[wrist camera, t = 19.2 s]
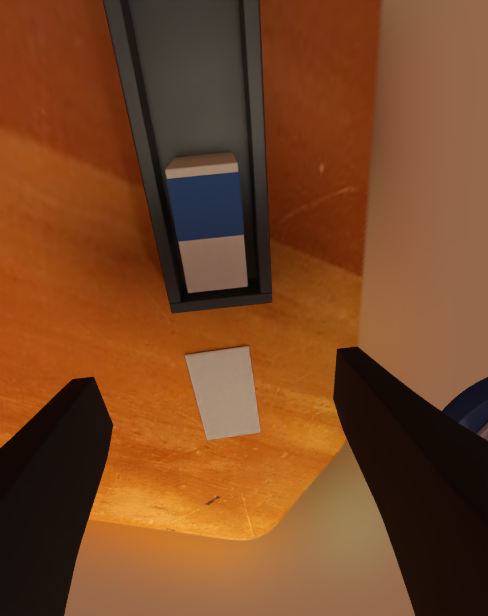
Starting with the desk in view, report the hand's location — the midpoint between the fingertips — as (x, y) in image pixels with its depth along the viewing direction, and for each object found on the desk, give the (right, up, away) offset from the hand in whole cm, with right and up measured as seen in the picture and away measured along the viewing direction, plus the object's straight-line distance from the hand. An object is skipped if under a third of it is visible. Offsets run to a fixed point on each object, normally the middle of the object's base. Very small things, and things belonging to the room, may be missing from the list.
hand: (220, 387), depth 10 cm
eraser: (-1, +7, +6) cm, 9 cm away
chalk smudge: (-1, -4, +13) cm, 13 cm away
